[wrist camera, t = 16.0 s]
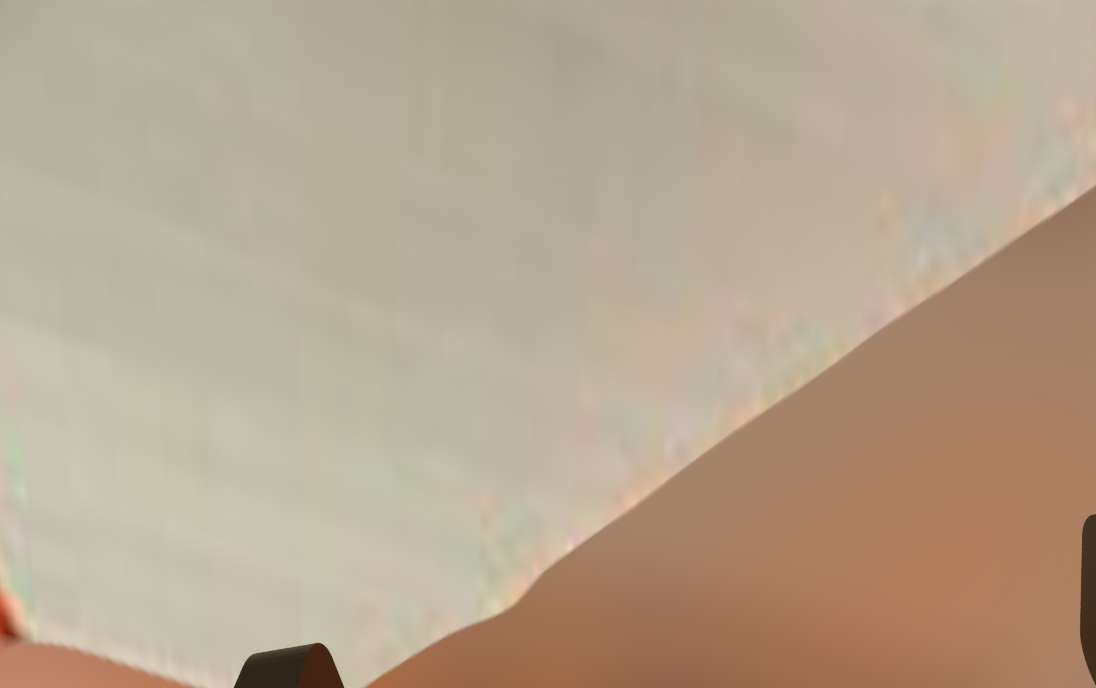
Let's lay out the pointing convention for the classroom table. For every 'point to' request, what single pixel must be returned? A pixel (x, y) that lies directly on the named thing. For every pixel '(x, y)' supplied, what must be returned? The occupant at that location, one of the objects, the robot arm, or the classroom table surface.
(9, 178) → the classroom table surface
